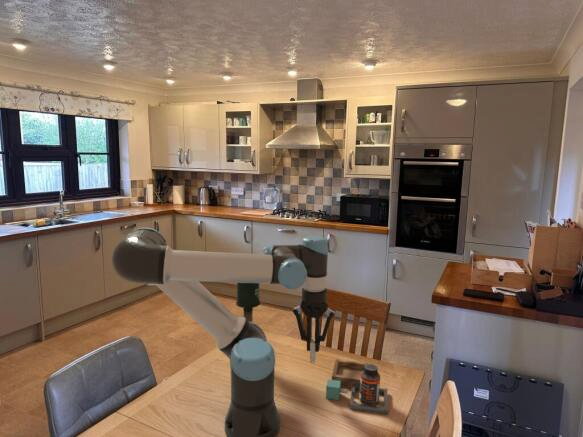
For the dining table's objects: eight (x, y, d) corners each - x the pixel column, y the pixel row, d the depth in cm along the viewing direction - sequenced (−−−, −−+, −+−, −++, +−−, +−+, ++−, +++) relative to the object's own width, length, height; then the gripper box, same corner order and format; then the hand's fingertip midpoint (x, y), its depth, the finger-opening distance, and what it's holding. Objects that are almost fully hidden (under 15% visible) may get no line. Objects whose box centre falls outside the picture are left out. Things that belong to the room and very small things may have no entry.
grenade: (258, 364, 146) (259, 283, 142) (234, 364, 147) (234, 283, 142) (260, 353, 155) (261, 276, 150) (237, 352, 155) (237, 275, 150)
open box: (331, 384, 135) (331, 376, 134) (335, 367, 146) (335, 359, 145) (366, 389, 133) (367, 380, 132) (367, 371, 144) (368, 363, 143)
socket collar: (349, 409, 122) (349, 404, 122) (352, 388, 133) (352, 384, 132) (387, 414, 120) (387, 409, 120) (387, 393, 130) (387, 389, 130)
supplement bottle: (357, 404, 125) (359, 369, 123) (361, 393, 130) (362, 360, 128) (377, 408, 123) (379, 373, 121) (380, 398, 128) (382, 364, 126)
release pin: (325, 398, 127) (326, 386, 126) (327, 391, 131) (328, 379, 130) (347, 401, 126) (347, 389, 125) (348, 393, 130) (348, 382, 129)
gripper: (337, 285, 127) (335, 357, 131) (295, 282, 129) (294, 352, 133) (334, 293, 119) (332, 369, 123) (290, 290, 122) (289, 364, 126)
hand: (312, 360), depth 128 cm, fingers closed
